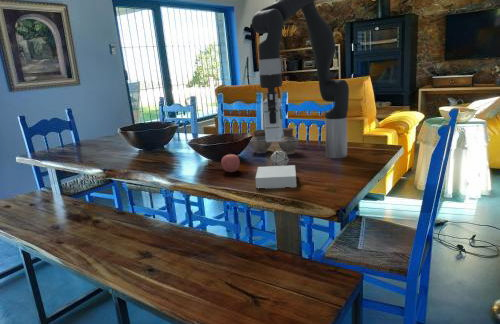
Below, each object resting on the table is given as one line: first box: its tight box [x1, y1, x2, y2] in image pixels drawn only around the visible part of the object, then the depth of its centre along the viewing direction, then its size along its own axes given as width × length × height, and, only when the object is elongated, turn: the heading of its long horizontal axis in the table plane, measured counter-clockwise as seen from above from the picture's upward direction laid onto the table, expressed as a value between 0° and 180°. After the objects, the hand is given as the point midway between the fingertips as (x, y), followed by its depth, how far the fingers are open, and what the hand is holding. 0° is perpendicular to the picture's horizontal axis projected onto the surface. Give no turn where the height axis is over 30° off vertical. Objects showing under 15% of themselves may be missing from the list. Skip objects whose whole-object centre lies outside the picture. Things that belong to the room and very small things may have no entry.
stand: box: [255, 164, 297, 190], centre depth 134 cm, size 14×14×4 cm
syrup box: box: [262, 97, 284, 143], centre depth 129 cm, size 6×6×14 cm
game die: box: [267, 148, 292, 166], centre depth 150 cm, size 9×8×10 cm
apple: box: [220, 153, 241, 173], centre depth 151 cm, size 7×7×8 cm
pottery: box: [249, 127, 300, 155], centre depth 178 cm, size 11×25×12 cm, turn 65°
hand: (273, 121), depth 129 cm, fingers closed on syrup box, 6 cm apart
